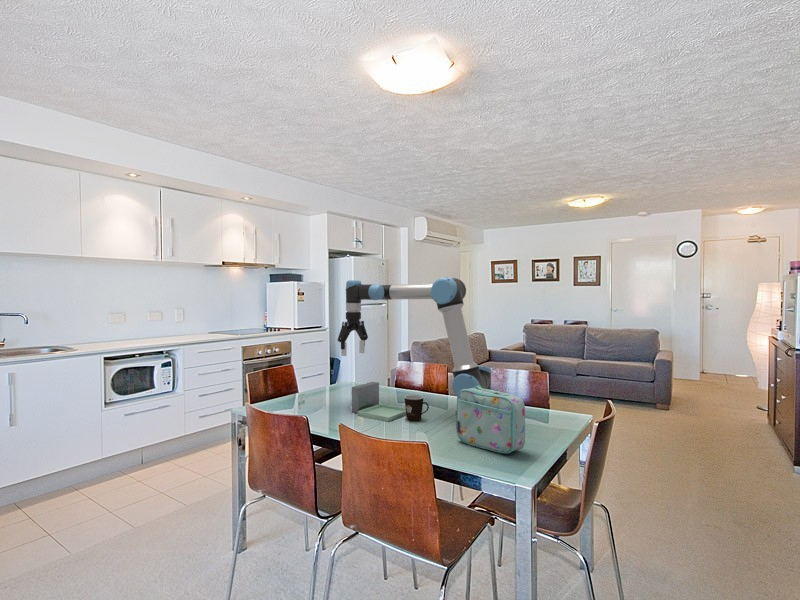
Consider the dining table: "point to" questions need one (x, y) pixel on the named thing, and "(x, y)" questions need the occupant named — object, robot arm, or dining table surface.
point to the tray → (383, 412)
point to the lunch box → (490, 419)
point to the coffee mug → (414, 407)
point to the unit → (365, 396)
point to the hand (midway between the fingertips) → (353, 354)
